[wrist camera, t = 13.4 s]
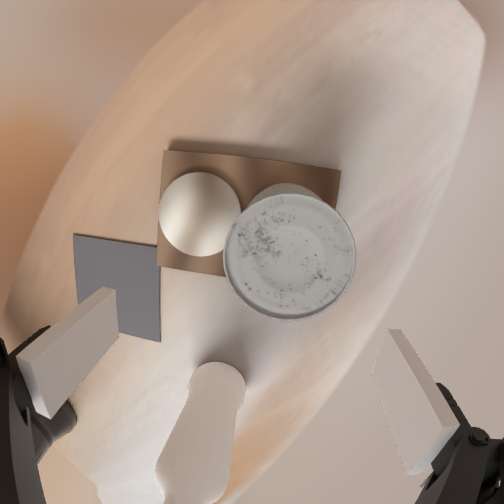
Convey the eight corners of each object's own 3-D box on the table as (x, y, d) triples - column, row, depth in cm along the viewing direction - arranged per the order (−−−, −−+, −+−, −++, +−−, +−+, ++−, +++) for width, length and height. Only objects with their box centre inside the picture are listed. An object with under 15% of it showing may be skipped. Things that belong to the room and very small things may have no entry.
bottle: (185, 361, 42) (101, 544, 13) (238, 355, 40) (188, 566, 12) (202, 400, 44) (146, 570, 15) (252, 396, 42) (223, 584, 14)
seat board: (160, 262, 38) (154, 267, 36) (167, 150, 34) (161, 150, 32) (318, 286, 37) (320, 292, 35) (339, 170, 33) (342, 170, 31)
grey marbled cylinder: (313, 170, 31) (332, 173, 19) (340, 252, 33) (369, 297, 22) (230, 201, 33) (201, 221, 21) (261, 279, 35) (251, 335, 23)
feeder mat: (81, 320, 42) (80, 321, 42) (73, 234, 38) (73, 234, 38) (160, 341, 41) (160, 342, 41) (160, 247, 37) (160, 248, 37)
